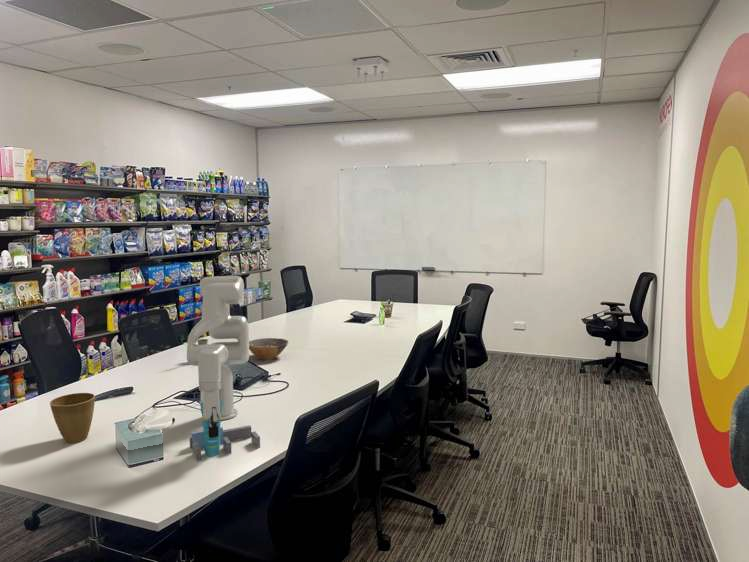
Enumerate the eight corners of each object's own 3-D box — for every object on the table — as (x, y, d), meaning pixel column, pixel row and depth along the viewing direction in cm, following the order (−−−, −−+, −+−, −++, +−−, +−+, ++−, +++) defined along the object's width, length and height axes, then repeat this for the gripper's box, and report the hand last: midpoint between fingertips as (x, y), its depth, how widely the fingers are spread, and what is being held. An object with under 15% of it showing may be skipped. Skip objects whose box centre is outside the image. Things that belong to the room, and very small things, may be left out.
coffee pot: (200, 358, 327) (199, 334, 325) (217, 359, 324) (216, 335, 322) (178, 367, 306) (177, 341, 305) (196, 369, 303) (195, 342, 302)
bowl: (297, 356, 331) (296, 340, 330) (268, 365, 311) (268, 348, 309) (266, 351, 345) (266, 335, 344) (237, 359, 324) (236, 343, 323)
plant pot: (87, 428, 217) (84, 390, 215) (104, 438, 207) (101, 397, 206) (46, 440, 205) (43, 399, 204) (62, 451, 196) (59, 408, 194)
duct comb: (189, 446, 200) (189, 431, 199) (250, 435, 211) (249, 420, 210) (196, 460, 188) (196, 443, 188) (260, 447, 199) (259, 431, 199)
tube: (202, 458, 190) (201, 405, 188) (200, 452, 195) (199, 400, 193) (224, 454, 193) (223, 402, 191) (222, 449, 198) (220, 398, 196)
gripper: (194, 379, 197) (196, 428, 199) (204, 392, 182) (206, 445, 184) (215, 376, 200) (216, 424, 202) (226, 389, 185) (228, 440, 188)
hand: (211, 433), depth 193 cm, fingers open, 5 cm apart
